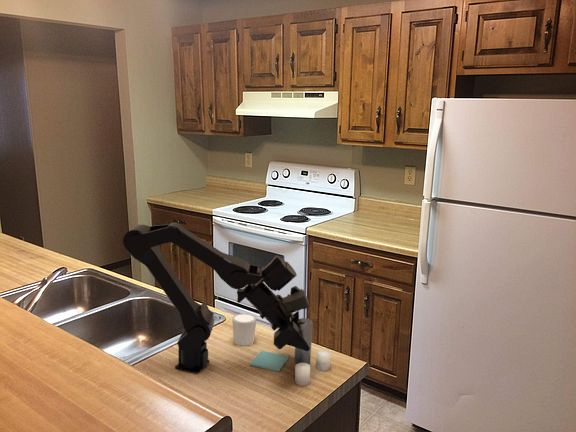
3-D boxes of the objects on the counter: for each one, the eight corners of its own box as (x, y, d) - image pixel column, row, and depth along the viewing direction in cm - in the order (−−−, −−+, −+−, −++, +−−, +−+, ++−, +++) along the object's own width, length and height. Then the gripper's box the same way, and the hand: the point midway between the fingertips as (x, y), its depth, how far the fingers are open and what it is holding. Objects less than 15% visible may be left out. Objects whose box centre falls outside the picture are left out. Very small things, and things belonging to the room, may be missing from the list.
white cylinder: (226, 342, 136) (227, 319, 135) (240, 333, 142) (240, 311, 141) (247, 349, 133) (248, 324, 132) (260, 339, 139) (261, 316, 138)
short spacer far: (314, 369, 124) (314, 354, 123) (317, 363, 127) (318, 348, 126) (327, 372, 123) (328, 357, 122) (331, 365, 126) (332, 351, 125)
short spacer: (294, 384, 116) (294, 369, 115) (296, 377, 120) (296, 362, 119) (309, 386, 115) (309, 370, 115) (310, 378, 119) (311, 363, 118)
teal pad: (249, 365, 124) (249, 363, 124) (261, 351, 132) (261, 350, 132) (279, 371, 122) (279, 370, 122) (289, 357, 129) (289, 356, 129)
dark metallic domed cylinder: (291, 371, 122) (294, 323, 119) (296, 364, 125) (299, 317, 123) (307, 375, 120) (310, 326, 118) (311, 367, 124) (314, 320, 122)
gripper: (290, 294, 109) (336, 342, 111) (290, 269, 127) (329, 311, 130) (254, 325, 111) (300, 372, 113) (259, 296, 129) (298, 337, 131)
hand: (308, 345), depth 122 cm, fingers closed on dark metallic domed cylinder, 4 cm apart
